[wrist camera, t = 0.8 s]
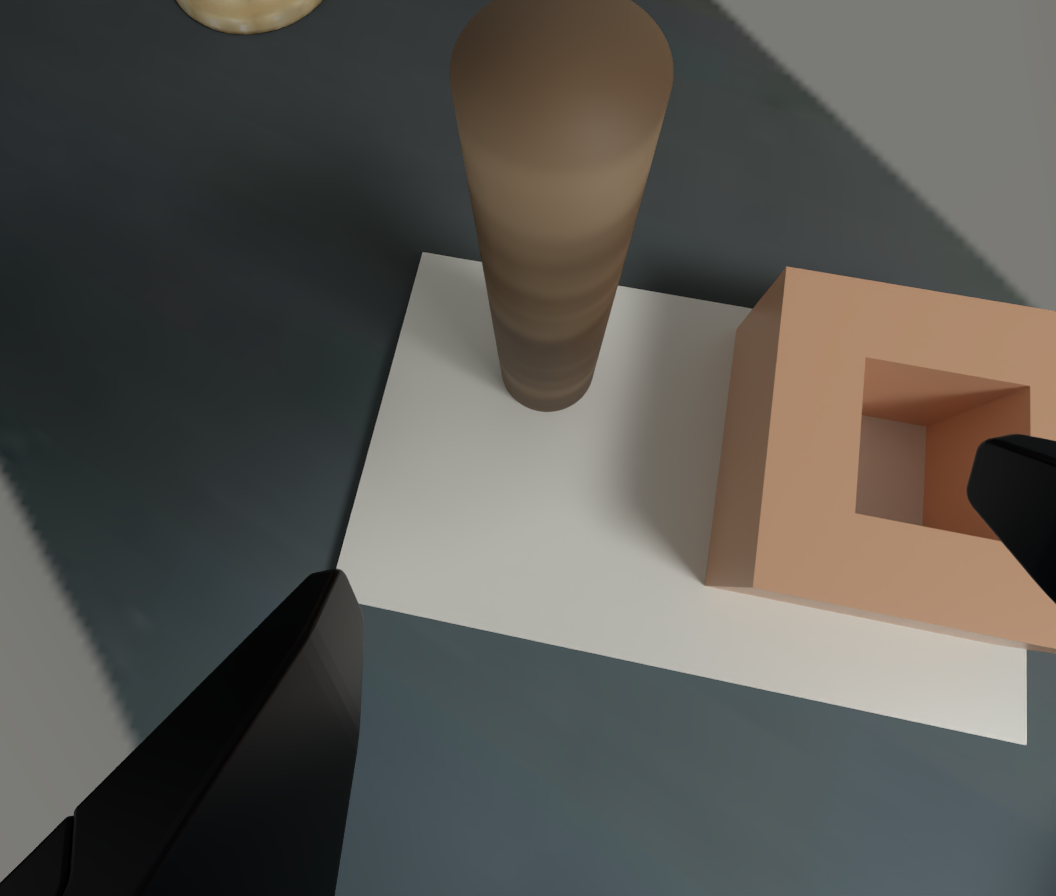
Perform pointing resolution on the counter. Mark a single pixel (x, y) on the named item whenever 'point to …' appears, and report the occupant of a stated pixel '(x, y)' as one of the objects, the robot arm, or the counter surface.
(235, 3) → the hand bell
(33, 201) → the counter surface
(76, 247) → the counter surface
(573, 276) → the walnut peg
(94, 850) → the robot arm
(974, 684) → the collar plate
